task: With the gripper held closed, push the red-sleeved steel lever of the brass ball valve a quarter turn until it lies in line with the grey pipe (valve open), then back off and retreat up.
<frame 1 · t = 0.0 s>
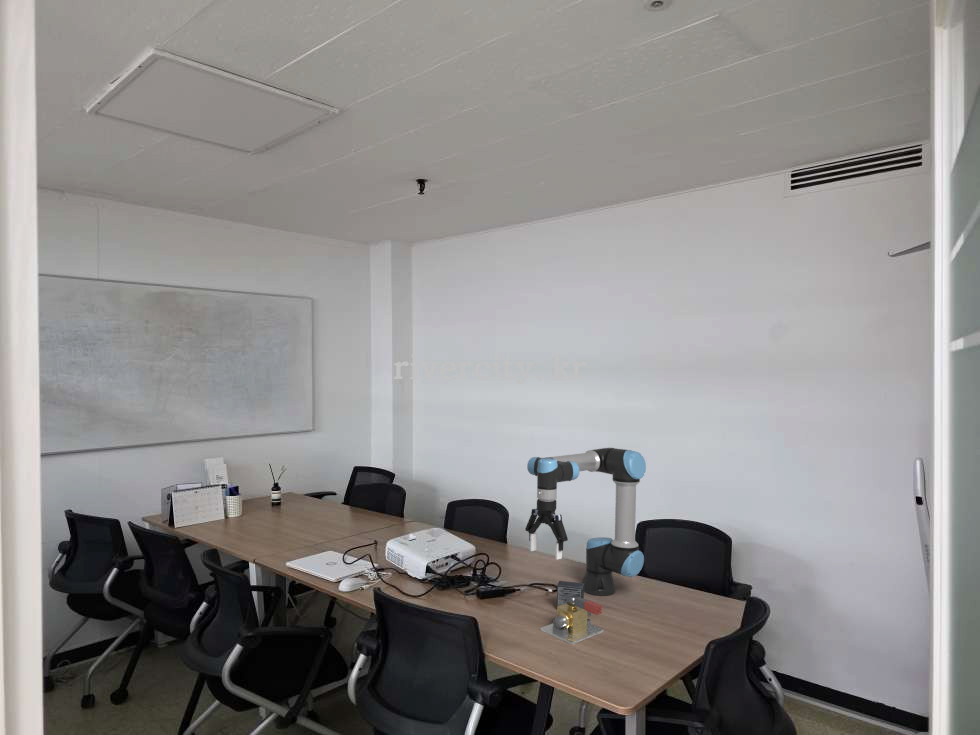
hand: (545, 554, 240), 28 cm above the table, fingers open, 13 cm apart
valve body: (571, 630, 237), on the table
lever: (583, 603, 233), point 12 cm above the table, hinge at 90.0°
small box: (570, 609, 259), on the table
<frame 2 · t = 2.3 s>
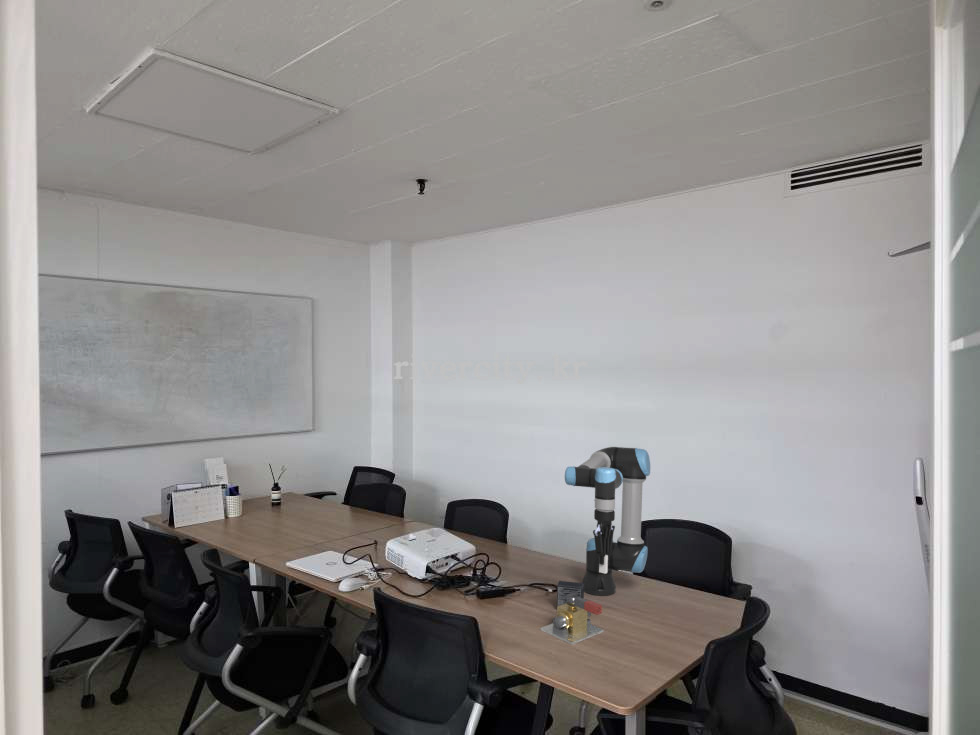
hand: (603, 572, 234), 23 cm above the table, fingers closed
nothing on the table moved.
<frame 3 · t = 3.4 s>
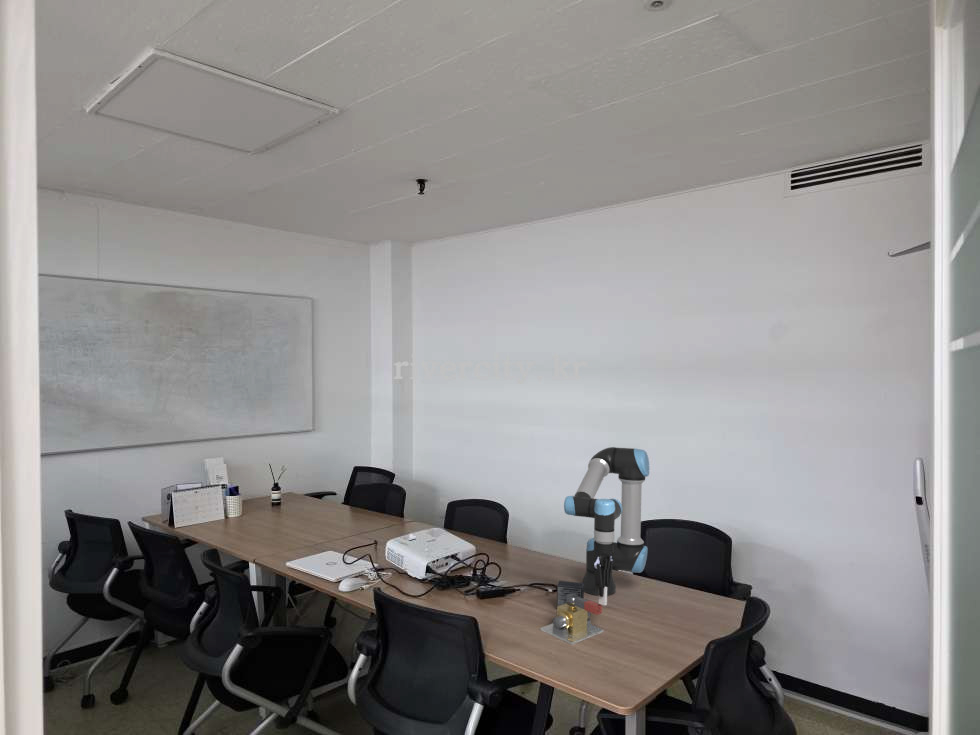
hand: (602, 604, 235), 11 cm above the table, fingers closed
nothing on the table moved.
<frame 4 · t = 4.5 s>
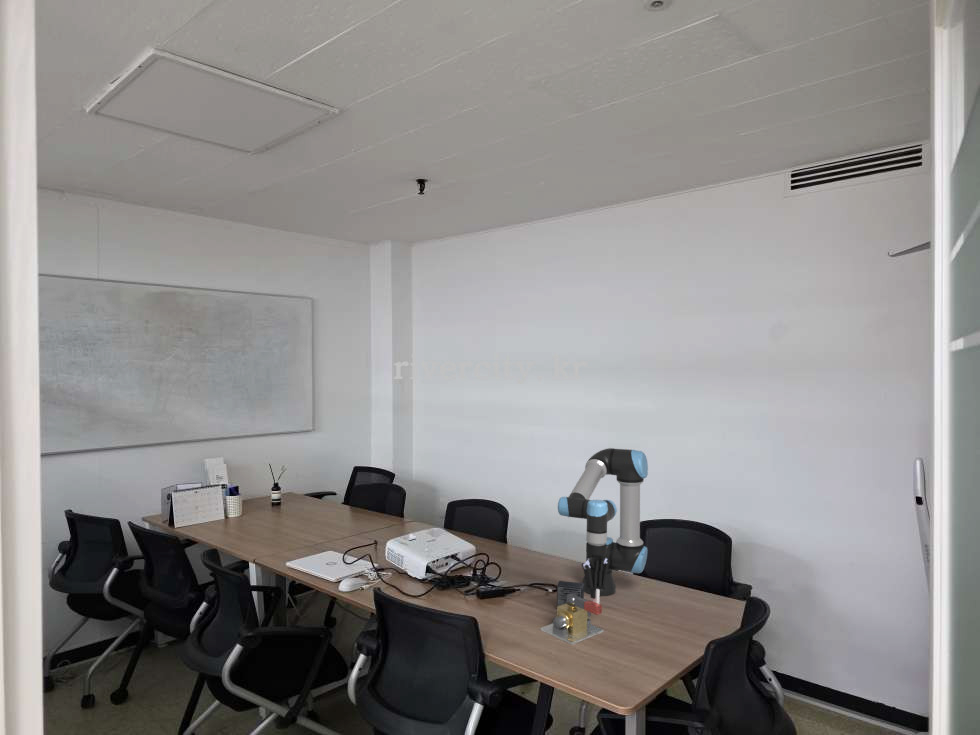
hand: (595, 606, 232), 12 cm above the table, fingers closed
lever: (583, 603, 233), point 12 cm above the table, hinge at 89.9°, touching gripper
everything else where it was.
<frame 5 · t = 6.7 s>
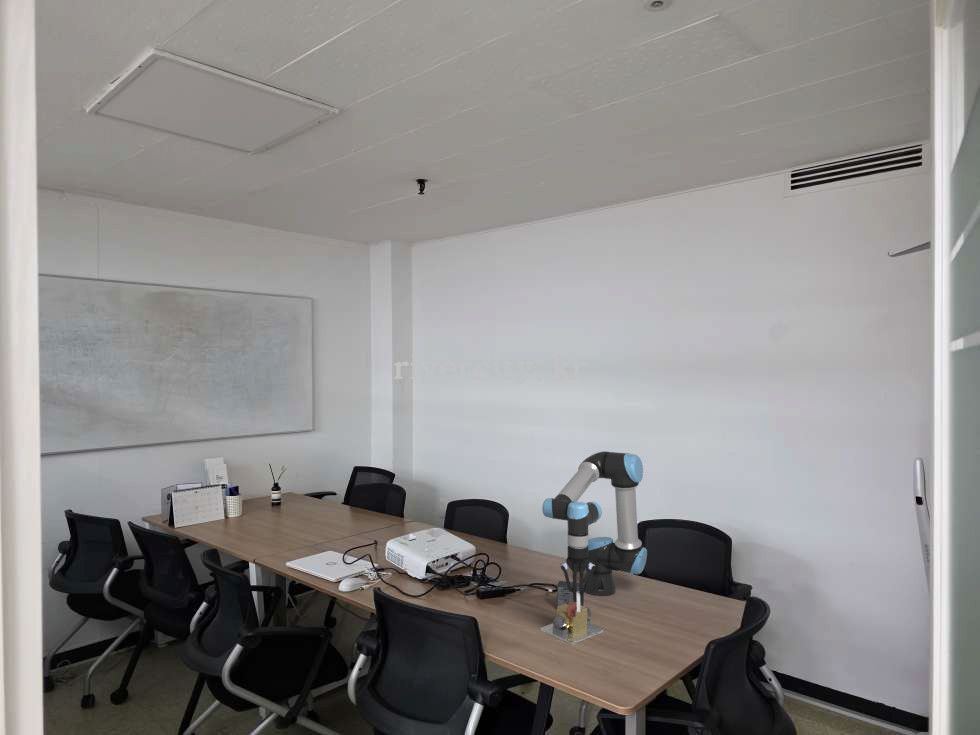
hand: (578, 610, 228), 11 cm above the table, fingers closed
lever: (572, 605, 232), point 12 cm above the table, hinge at 40.6°, touching gripper
everything else where it was.
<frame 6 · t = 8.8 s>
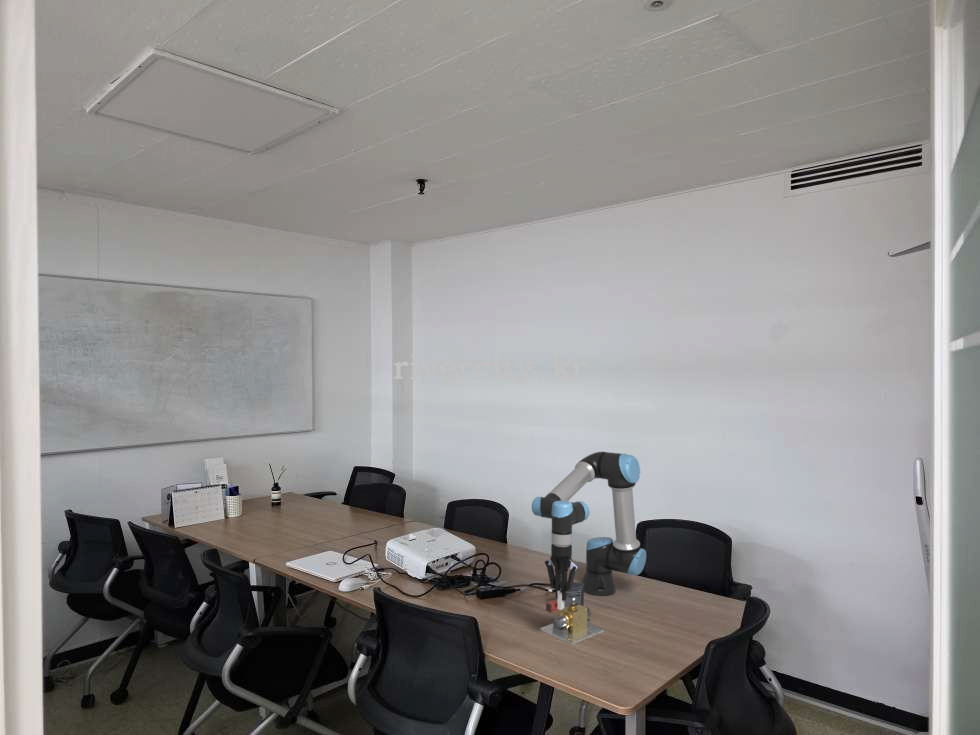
hand: (560, 608, 230), 11 cm above the table, fingers closed
lever: (562, 602, 234), point 12 cm above the table, hinge at -0.3°, touching gripper
everything else where it was.
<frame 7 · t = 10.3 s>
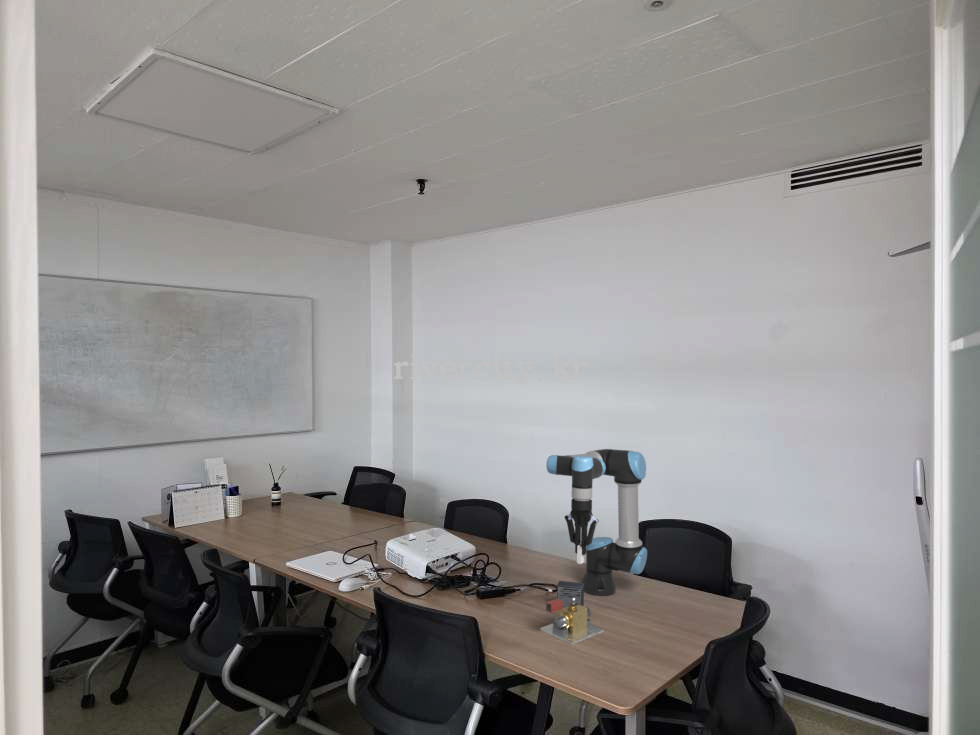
hand: (580, 562, 230), 28 cm above the table, fingers closed
lever: (562, 602, 234), point 12 cm above the table, hinge at -0.3°
everything else where it was.
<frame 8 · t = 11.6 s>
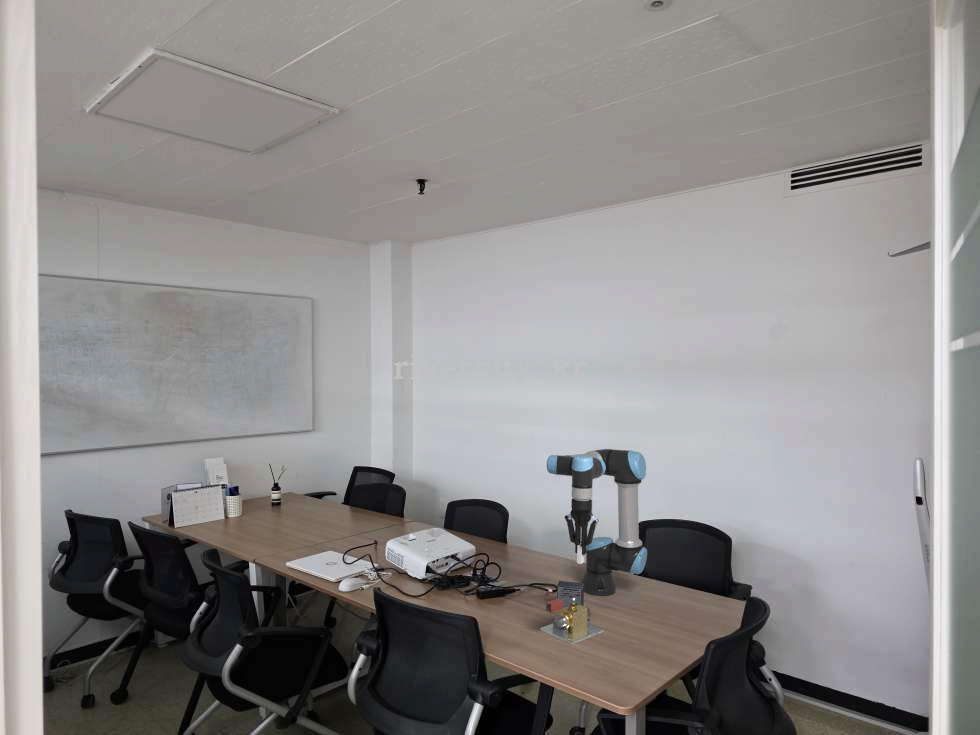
hand: (580, 562, 230), 28 cm above the table, fingers closed
nothing on the table moved.
at the end: lever at +0° (first picture: +90°) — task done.
